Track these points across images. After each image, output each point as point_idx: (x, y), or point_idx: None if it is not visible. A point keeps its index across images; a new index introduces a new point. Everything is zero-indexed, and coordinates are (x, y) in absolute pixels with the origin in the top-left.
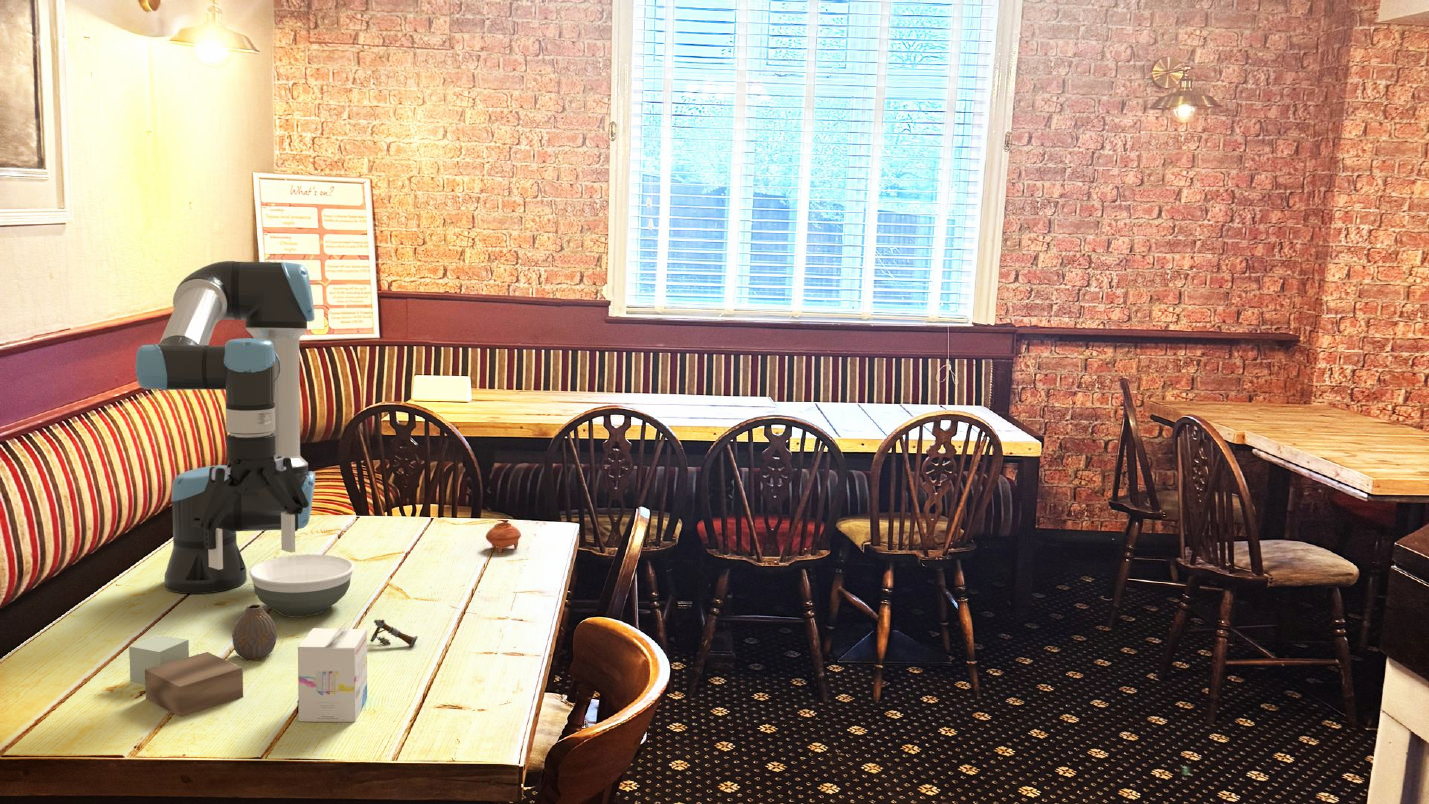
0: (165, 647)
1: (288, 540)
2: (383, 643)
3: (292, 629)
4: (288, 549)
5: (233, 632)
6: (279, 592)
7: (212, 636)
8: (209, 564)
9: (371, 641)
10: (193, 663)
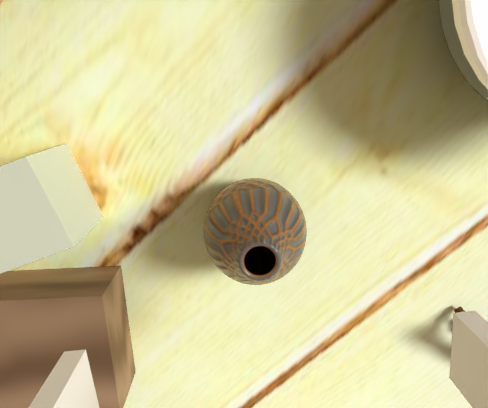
0: (8, 260)
1: (485, 400)
2: None
3: (409, 115)
4: (456, 366)
5: (207, 220)
6: (462, 51)
7: (251, 17)
8: (61, 362)
9: (455, 311)
10: (51, 336)
